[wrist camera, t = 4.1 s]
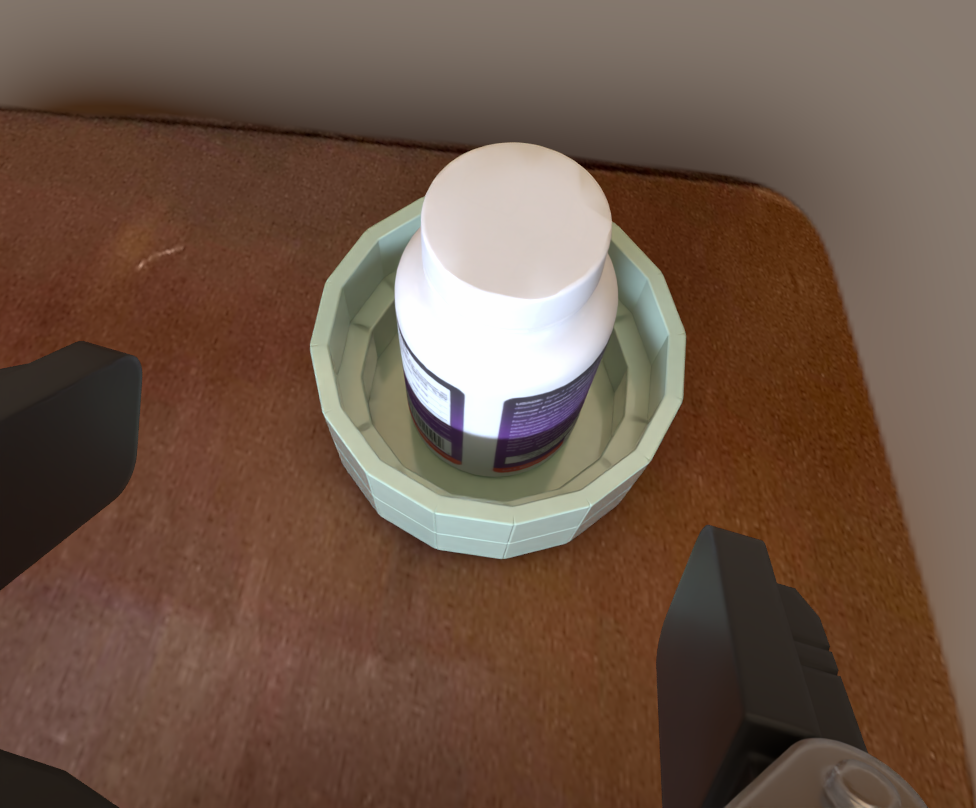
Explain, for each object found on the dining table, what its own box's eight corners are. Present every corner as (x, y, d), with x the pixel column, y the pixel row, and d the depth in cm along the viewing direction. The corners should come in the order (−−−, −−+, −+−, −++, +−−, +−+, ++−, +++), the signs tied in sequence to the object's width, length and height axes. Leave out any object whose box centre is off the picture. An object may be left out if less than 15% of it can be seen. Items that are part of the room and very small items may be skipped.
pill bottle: (586, 337, 27) (657, 134, 18) (567, 494, 24) (636, 355, 15) (424, 311, 27) (412, 96, 18) (391, 465, 25) (359, 310, 16)
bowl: (655, 290, 28) (692, 212, 24) (636, 581, 24) (676, 549, 20) (368, 249, 28) (354, 163, 24) (302, 532, 24) (272, 490, 20)
